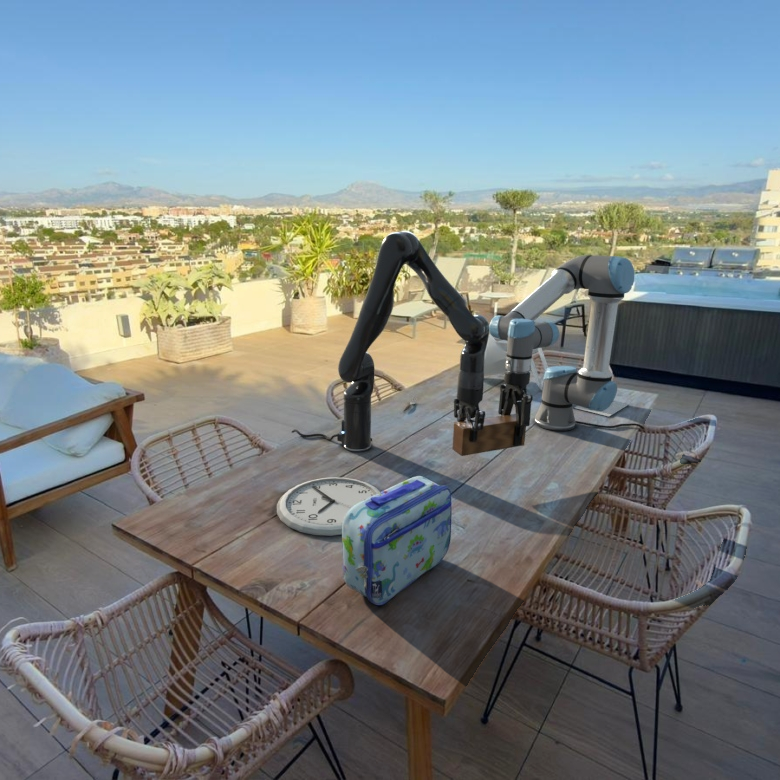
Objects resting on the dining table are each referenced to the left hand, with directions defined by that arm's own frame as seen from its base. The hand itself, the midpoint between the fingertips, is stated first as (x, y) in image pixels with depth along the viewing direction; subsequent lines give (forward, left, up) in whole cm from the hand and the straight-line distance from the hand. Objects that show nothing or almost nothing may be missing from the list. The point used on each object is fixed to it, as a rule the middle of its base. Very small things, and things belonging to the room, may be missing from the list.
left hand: (467, 437), depth 158 cm
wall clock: (-23, -37, -13) cm, 45 cm away
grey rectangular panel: (+24, +93, -13) cm, 97 cm away
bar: (+5, +7, -5) cm, 9 cm away
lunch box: (+7, -54, -13) cm, 56 cm away
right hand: (+10, +13, -4) cm, 17 cm away
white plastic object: (-22, +103, -13) cm, 106 cm away
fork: (-45, +47, -13) cm, 66 cm away
